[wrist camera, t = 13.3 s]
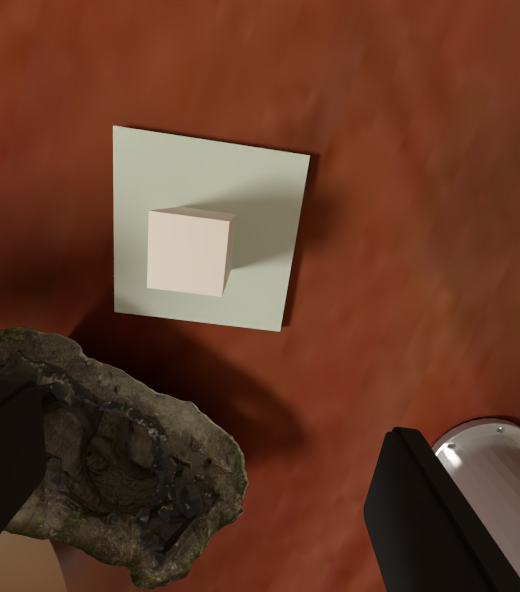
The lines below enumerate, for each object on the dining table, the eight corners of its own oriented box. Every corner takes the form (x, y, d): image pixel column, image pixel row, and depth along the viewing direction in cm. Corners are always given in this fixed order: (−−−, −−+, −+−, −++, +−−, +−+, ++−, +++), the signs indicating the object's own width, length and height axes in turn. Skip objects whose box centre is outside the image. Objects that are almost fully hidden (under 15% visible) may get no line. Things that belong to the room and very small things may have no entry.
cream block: (231, 269, 29) (222, 297, 21) (176, 263, 28) (147, 288, 21) (236, 214, 27) (229, 221, 19) (179, 206, 27) (148, 210, 19)
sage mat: (279, 327, 31) (280, 331, 30) (118, 308, 31) (114, 311, 30) (308, 156, 27) (310, 155, 26) (118, 128, 26) (113, 125, 25)
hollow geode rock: (42, 307, 35) (-109, 426, 27) (33, 267, 25) (-216, 439, 17) (221, 451, 41) (140, 586, 33) (273, 467, 31) (174, 669, 22)
